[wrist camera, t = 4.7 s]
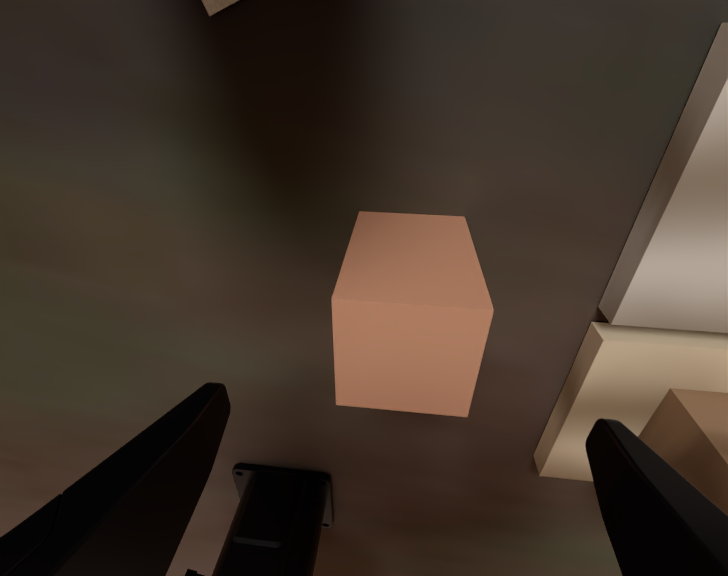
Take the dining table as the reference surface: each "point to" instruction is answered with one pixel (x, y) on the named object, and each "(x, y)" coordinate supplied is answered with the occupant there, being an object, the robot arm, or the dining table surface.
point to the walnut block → (693, 439)
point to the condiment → (216, 5)
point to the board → (658, 290)
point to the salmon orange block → (409, 315)
